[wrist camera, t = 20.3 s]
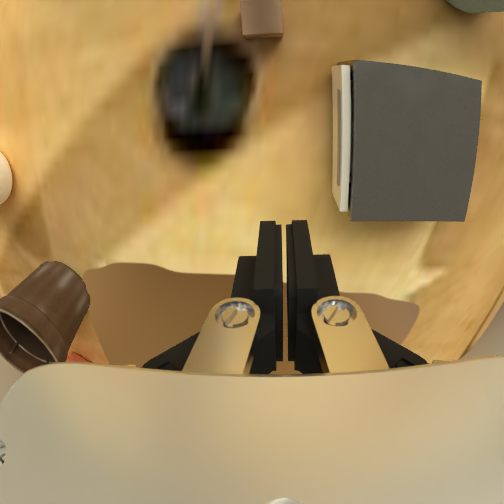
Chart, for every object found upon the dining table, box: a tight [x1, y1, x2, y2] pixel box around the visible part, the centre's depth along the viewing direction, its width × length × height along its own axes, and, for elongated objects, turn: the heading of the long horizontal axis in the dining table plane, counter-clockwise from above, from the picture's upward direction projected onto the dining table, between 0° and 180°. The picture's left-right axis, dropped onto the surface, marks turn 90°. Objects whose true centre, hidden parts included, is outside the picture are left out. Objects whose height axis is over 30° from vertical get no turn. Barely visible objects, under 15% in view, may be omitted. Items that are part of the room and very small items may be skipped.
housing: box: [338, 60, 482, 222], centre depth 30 cm, size 14×16×8 cm
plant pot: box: [0, 261, 90, 374], centre depth 44 cm, size 16×16×16 cm
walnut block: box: [240, 0, 284, 39], centre depth 26 cm, size 4×4×4 cm
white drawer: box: [332, 65, 353, 212], centre depth 30 cm, size 13×15×6 cm
